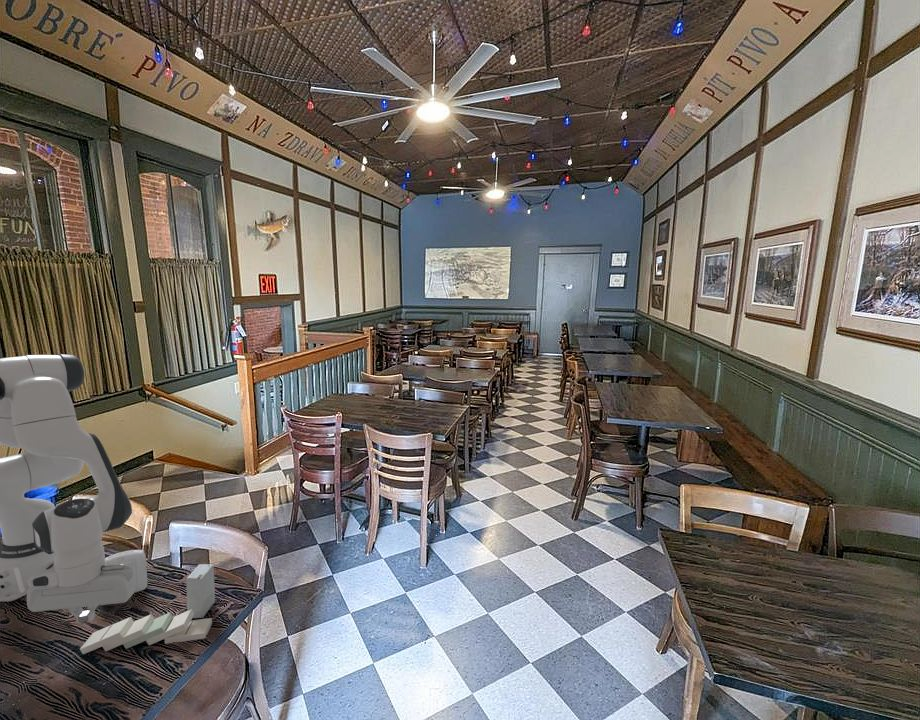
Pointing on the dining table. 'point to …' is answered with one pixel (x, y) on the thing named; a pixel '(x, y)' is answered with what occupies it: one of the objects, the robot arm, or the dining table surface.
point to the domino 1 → (107, 635)
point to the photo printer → (132, 566)
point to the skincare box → (200, 590)
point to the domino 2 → (132, 632)
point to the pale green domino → (152, 630)
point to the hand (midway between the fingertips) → (85, 619)
